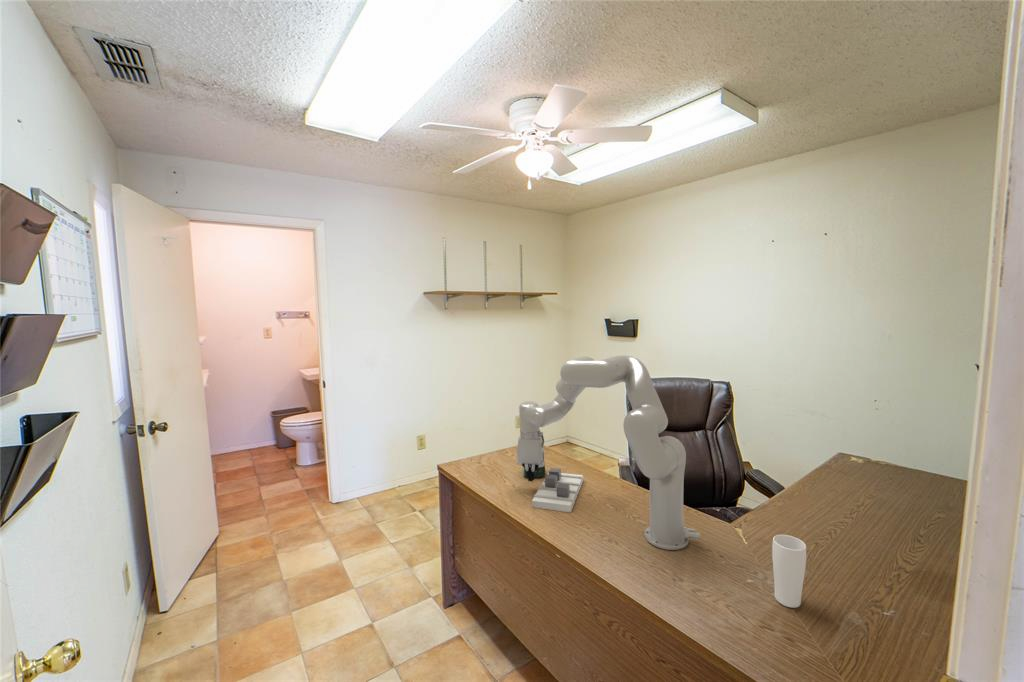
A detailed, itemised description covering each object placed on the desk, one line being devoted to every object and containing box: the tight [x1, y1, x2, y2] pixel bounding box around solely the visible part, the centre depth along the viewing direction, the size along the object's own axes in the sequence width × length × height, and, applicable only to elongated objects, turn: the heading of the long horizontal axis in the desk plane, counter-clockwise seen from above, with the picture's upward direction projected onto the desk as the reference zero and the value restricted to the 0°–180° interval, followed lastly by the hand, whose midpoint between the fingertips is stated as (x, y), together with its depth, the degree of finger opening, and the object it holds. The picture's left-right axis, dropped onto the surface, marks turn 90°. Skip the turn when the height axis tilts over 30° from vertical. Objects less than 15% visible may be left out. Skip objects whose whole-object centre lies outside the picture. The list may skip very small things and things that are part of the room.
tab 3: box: [557, 483, 570, 498], centre depth 154 cm, size 4×4×3 cm
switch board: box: [531, 472, 584, 513], centre depth 161 cm, size 14×26×3 cm, turn 161°
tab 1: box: [548, 467, 562, 481], centre depth 168 cm, size 4×4×3 cm
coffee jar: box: [522, 435, 546, 479], centre depth 178 cm, size 10×8×19 cm
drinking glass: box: [771, 534, 807, 609], centre depth 101 cm, size 7×7×15 cm
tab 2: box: [544, 473, 558, 488], centre depth 162 cm, size 4×4×3 cm
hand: (531, 479), depth 164 cm, fingers closed
